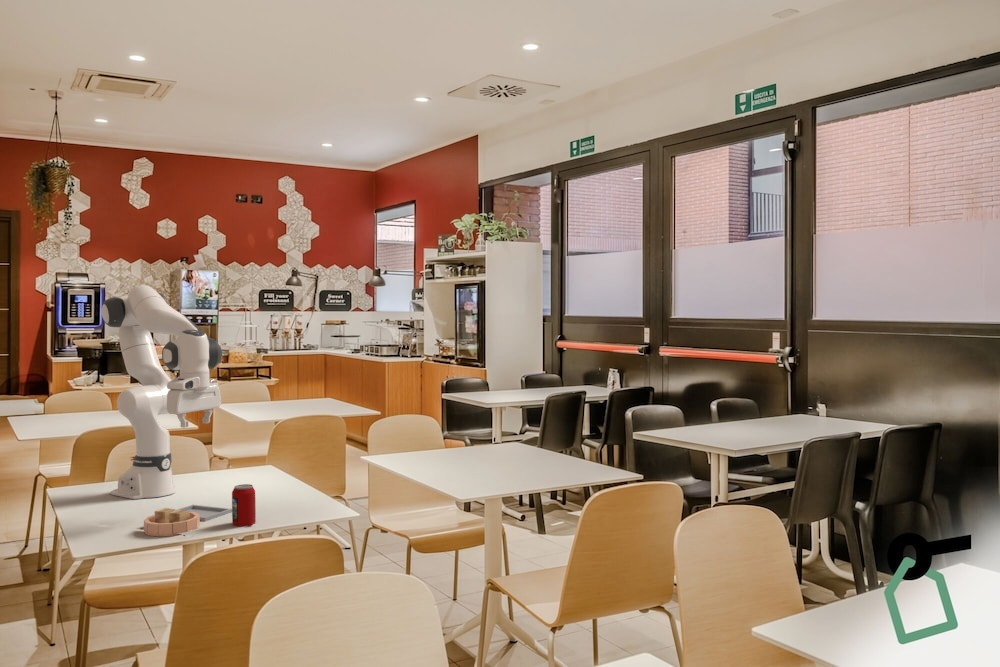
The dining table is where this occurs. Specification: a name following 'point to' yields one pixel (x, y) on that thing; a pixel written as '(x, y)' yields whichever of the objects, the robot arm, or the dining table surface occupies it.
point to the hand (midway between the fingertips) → (195, 425)
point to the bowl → (170, 526)
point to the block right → (179, 516)
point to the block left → (163, 515)
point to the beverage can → (243, 505)
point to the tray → (207, 511)
